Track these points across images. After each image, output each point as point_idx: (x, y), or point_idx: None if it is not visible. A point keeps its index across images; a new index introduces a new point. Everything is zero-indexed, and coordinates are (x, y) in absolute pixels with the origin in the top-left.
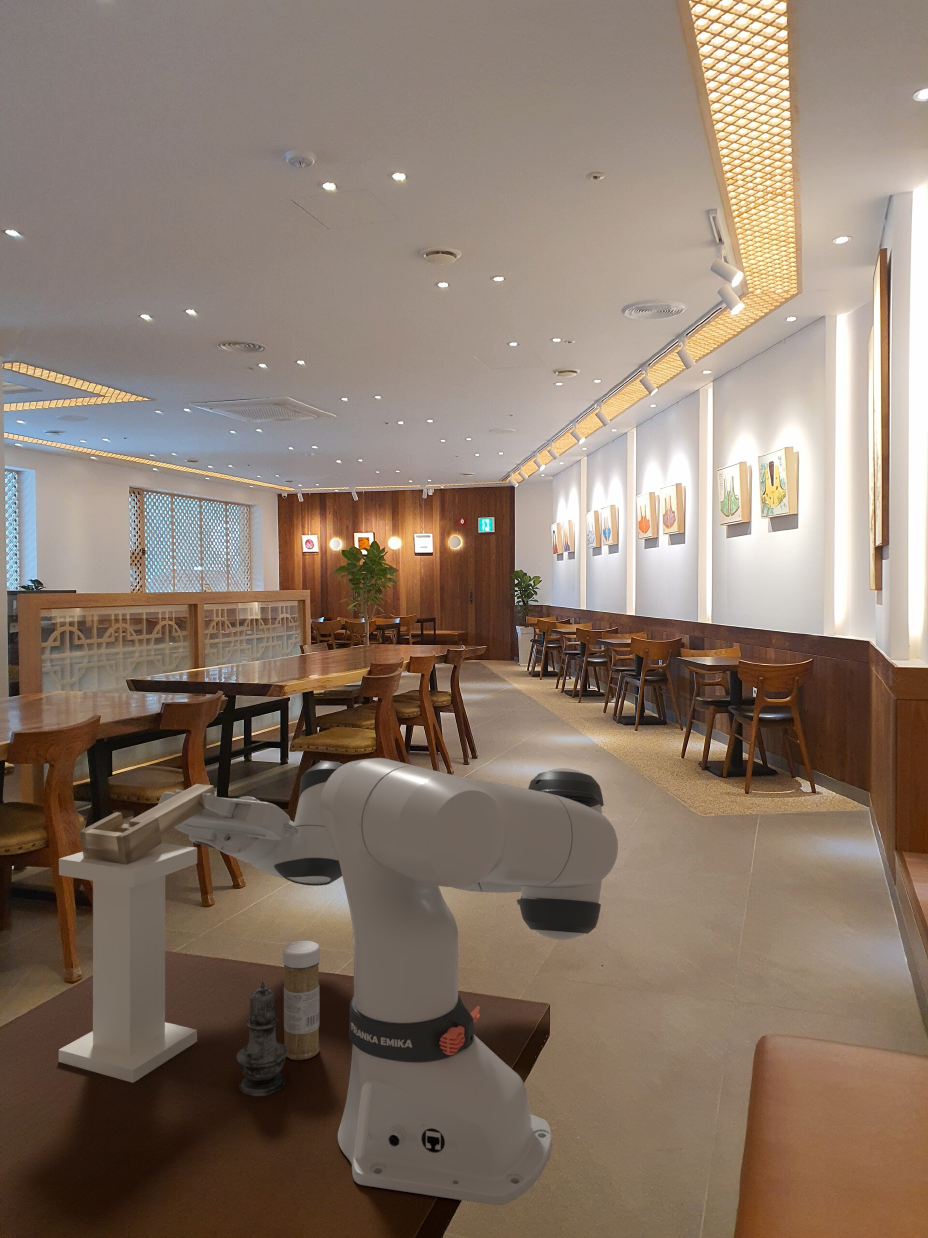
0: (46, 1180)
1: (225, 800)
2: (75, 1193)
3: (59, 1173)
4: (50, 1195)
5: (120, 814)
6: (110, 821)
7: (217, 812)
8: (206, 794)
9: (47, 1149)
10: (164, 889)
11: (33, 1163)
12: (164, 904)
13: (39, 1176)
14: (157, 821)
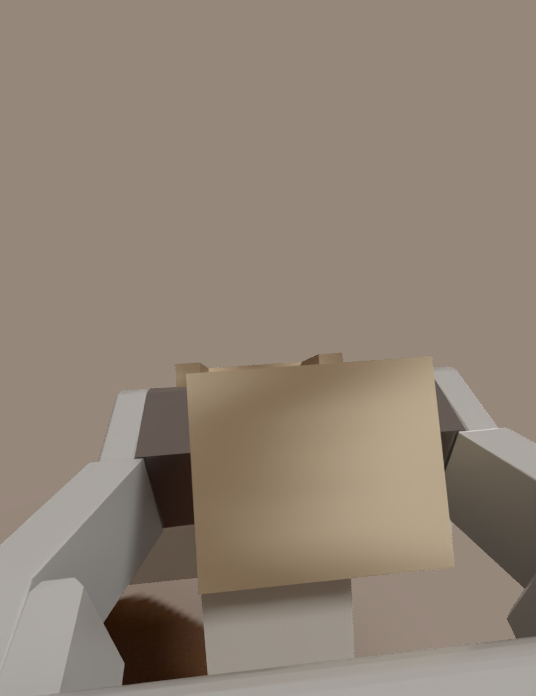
0: (152, 628)
1: (20, 534)
2: (111, 630)
3: (146, 638)
4: (133, 620)
5: (317, 356)
6: (311, 364)
7: (110, 600)
8: (151, 391)
9: (188, 652)
10: (202, 607)
11: (184, 634)
12: (206, 651)
13: (163, 628)
14: (176, 375)
